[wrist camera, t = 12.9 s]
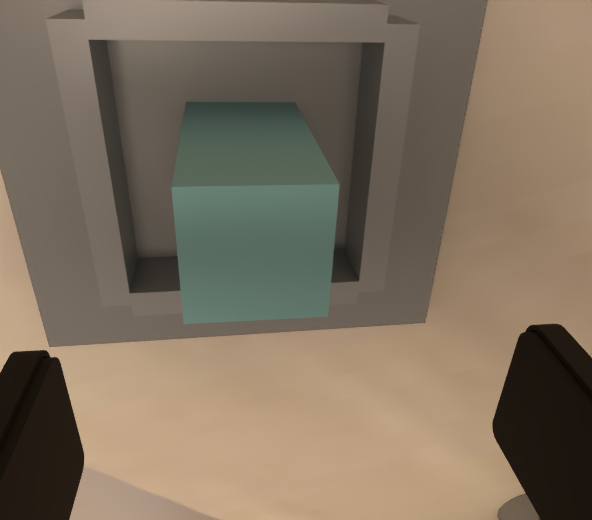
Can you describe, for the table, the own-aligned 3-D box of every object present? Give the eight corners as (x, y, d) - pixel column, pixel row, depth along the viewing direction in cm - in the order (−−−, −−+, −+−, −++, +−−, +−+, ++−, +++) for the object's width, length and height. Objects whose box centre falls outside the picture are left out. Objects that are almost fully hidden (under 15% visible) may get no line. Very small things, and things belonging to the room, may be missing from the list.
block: (295, 102, 22) (339, 184, 14) (291, 200, 24) (328, 316, 16) (186, 101, 21) (171, 186, 14) (193, 202, 24) (183, 324, 16)
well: (497, -113, 20) (556, -127, 16) (419, 312, 30) (445, 358, 27) (-72, -143, 17) (-143, -167, 14) (54, 334, 27) (32, 389, 24)
